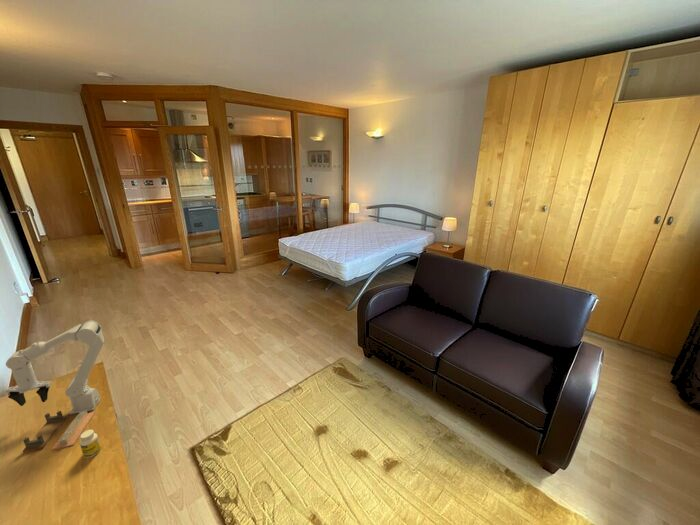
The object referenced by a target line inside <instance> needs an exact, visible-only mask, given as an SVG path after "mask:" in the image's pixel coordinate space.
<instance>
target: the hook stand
mask: <svg viewBox="0 0 700 525" xmlns="http://www.w3.org/2000/svg"><path fill="white" fill-rule="evenodd" d="M44 418H45V420H46V422H45V424H44V425H43V426H42V427H41V428H40V430H39V431H38V432H37V433H36V434H35V435H34V436H33V437H32V439H31V440H30V437H29V436H27V437H26V436H25V437H24V438H23V440H22V441H23V444H24V446H25V448H24V449H23V450H22V453H23V454H27V453H28V454H29V453H31V452H37V451H42V450H43V449H44V448H45V446H47V444H48V443H49V442H50V440H51V439H52V438H53V436H54V435H55V434H56V432H57V431H58V430H59V428H60V427H61V426H62V425H63V423H64V422H65V421H66V419H67V418H68V417H67V415H63V412H62V411H61V410H58V411H57V412H56V415H53V416H51V415H50V413H49V412H46V413H45V415H44Z"/></svg>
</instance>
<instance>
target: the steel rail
mask: <svg viewBox="0 0 700 525" xmlns="http://www.w3.org/2000/svg"><path fill="white" fill-rule="evenodd" d="M88 413H89V412H88V411H81V412H80V413H77V415H78V416H77V417H76V416H75V417H76V418H75V417H74V418H75V420H74V419H73V420H74V421H73V420H72V421H73V422H72V421H71V422H72V424H71V423H70V424H71V425H70V424H69V425H70V426H69V425H68V426H69V428H68V427H67V428H68V429H67V428H66V429H67V431H66V432H65V431H64V432H65V433H64V432H63V433H64V435H63V436H62V435H61V436H62V437H61V436H60V437H61V439H60V438H59V439H60V440H59V439H58V440H59V443H60V445H64V444H68V443H69V441H70V440H71V438H72V437H73V435H74V434H75V433H76V431H77V430H78V428H79V427H80V425H81V424H82V422H83V421H84V419H85V418H86V417H87V415H88Z"/></svg>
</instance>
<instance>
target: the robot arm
mask: <svg viewBox="0 0 700 525" xmlns="http://www.w3.org/2000/svg"><path fill="white" fill-rule="evenodd" d="M70 340H71V341H72V342H73V341H75V342H77V341H79V342H81V343H83V344H86V345H88V346H89V347H88V348H87V351H86V353H85V356H84V358H83V360H82V362H81V364H80V366H79V368H78V370H77V372H76V375H74V376H73V377H72V378H71V380H70V382H69V385H68V387H67V388H66V390H65V391H64V392H65V395H66V396H67V397H68V398H69V400H70V403H71V406H72V409H71V410H70V412H69V413H68V414H69V415H75V414H79V413H80V412H81V411H87V412H89V411H94V410H95V409H96V407H97V406H98V404H99V402H100V401H101V400H102V399H101V398H102V397H100V393H99V391H98V388H96V387H95V388H94V387H93V388H92V387H90V386H89V384H88V382H89V381H90V378H89V375H90V373H91V371H92V369H93V366H94V364H95V362H96V360H97V358H98V356H99V354H100V352H101V349H102V348H103V346H104V343H105V337H104V334H103V331H102V326H101V324H99V322H97V321H95V320H86V321H85V322H83V323H79V324H78V325H75V326H73V327H72V328H70V329H68V330H66V331H64V332H63V333H62V332H61V333H60V334H59V335H56V336H55V337H52V338H51V339H49V340H47V341H38V342H37V341H36V342H34V343H32V344H31V345H30V346H29V347H26V348H24V349H20V350H17V351H15V352H14V353H13V354H12V355H11V356H10V357H9V358H8V359H7V361H6V362H5V366H6V367H7V368H8V369H10V370H11V372H12V376H13V378H14V381H15V383H16V385H14V386H9V387H7V388H6V389H5V390H4V391H5V394H6V395H7V398H8V399H10V400H13V401H15V402H16V403H17V404H18V405H19V406H20V407H23V406H24V405H25V404H26V403H27V400H26V398H25V393H26V392H28V391H32V390H35V389H38V390H37V391H35V393H36V394H37V395H38V396H39V397H40V400H41V402H42V403H45V402H47V400H48V396H49V395H48V393H49V390H50V387H51V385H52V381H51V380H47V381H46V380H45V381H43V380H37V379H38V378H37V376H36V373H35V371H34V368H33V365H32V361H34V360H36V359H38V358H40V357H42V356H44V355H46V354H49V352H50V351H51V348H52V349H53V348H55V347H56V346H59V345H61V344H63V343H65V342H68V341H70Z"/></svg>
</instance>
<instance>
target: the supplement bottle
mask: <svg viewBox="0 0 700 525" xmlns="http://www.w3.org/2000/svg"><path fill="white" fill-rule="evenodd" d="M98 436H99V435H98V434H97V433H95V430H94V429H87V430H85V431H83V432H82V433H81V435H80V436H79V438H80V439H79V440H80V441H79V447H80V449H81V453H82V456H83V457H84V458H85V459H87V458H89V459H90V458H92V457H94V456H96V455H97V454H98V453H99V452H100V451H101V449H102V446H101V443H100V439H99V437H98Z"/></svg>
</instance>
